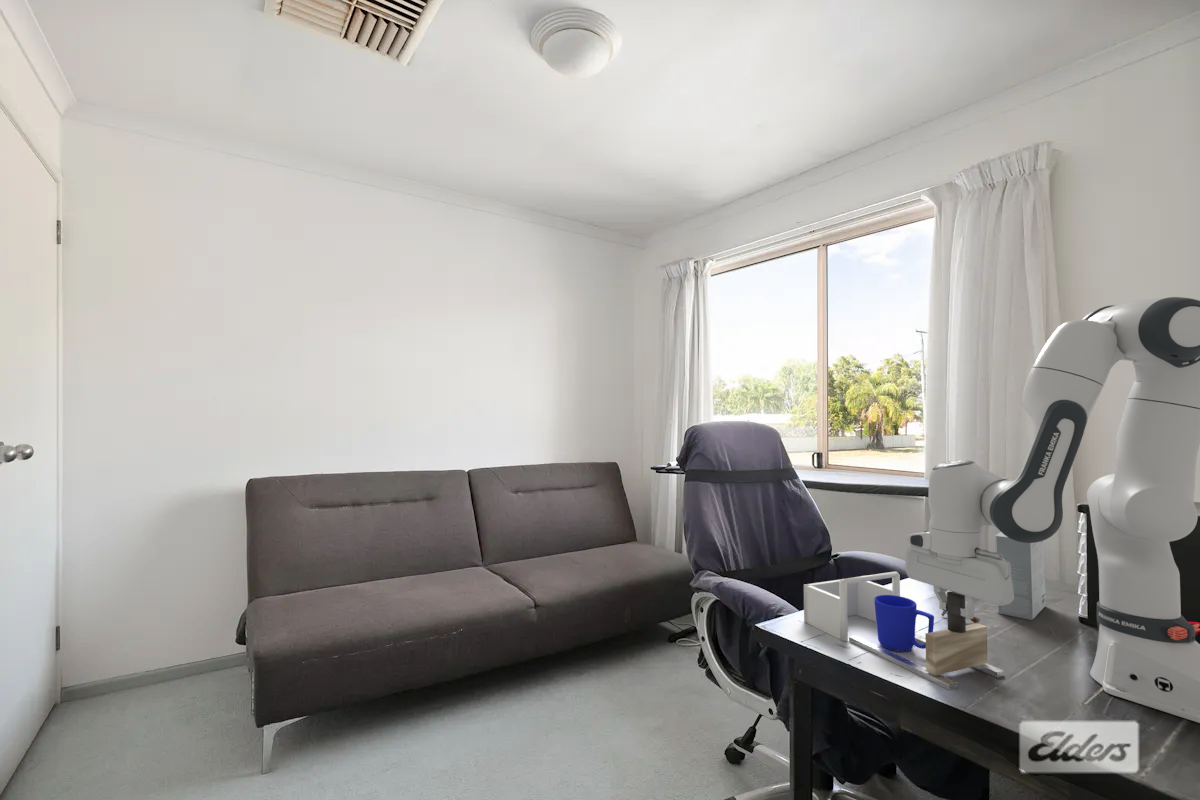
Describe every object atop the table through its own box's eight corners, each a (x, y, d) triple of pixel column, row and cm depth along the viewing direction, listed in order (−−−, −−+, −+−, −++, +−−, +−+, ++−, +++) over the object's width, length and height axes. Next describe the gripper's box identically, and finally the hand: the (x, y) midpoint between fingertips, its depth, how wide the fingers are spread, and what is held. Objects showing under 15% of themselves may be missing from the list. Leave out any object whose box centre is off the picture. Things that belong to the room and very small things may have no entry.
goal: (902, 630, 133) (901, 572, 133) (843, 641, 127) (843, 580, 127) (858, 612, 145) (857, 558, 145) (803, 621, 139) (802, 565, 139)
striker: (990, 664, 112) (988, 591, 112) (938, 676, 107) (936, 600, 107) (975, 658, 115) (973, 587, 115) (923, 670, 110) (922, 596, 110)
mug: (923, 665, 115) (922, 615, 115) (867, 644, 125) (866, 599, 125) (943, 655, 119) (942, 607, 120) (887, 636, 129) (887, 592, 130)
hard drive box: (1010, 599, 154) (1009, 526, 155) (1046, 606, 149) (1044, 530, 149) (995, 613, 144) (994, 534, 144) (1033, 621, 138) (1031, 539, 139)
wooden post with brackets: (938, 611, 143) (946, 596, 142) (973, 632, 138) (981, 617, 137) (936, 613, 142) (944, 598, 141) (971, 634, 137) (979, 619, 135)
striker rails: (1004, 675, 110) (1004, 670, 110) (949, 689, 104) (949, 684, 105) (898, 631, 132) (898, 627, 132) (849, 641, 127) (849, 636, 127)
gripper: (1021, 553, 103) (1023, 630, 103) (921, 531, 122) (922, 596, 122) (997, 557, 101) (999, 635, 100) (899, 534, 120) (900, 600, 119)
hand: (956, 614), depth 111 cm, fingers closed on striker, 3 cm apart
